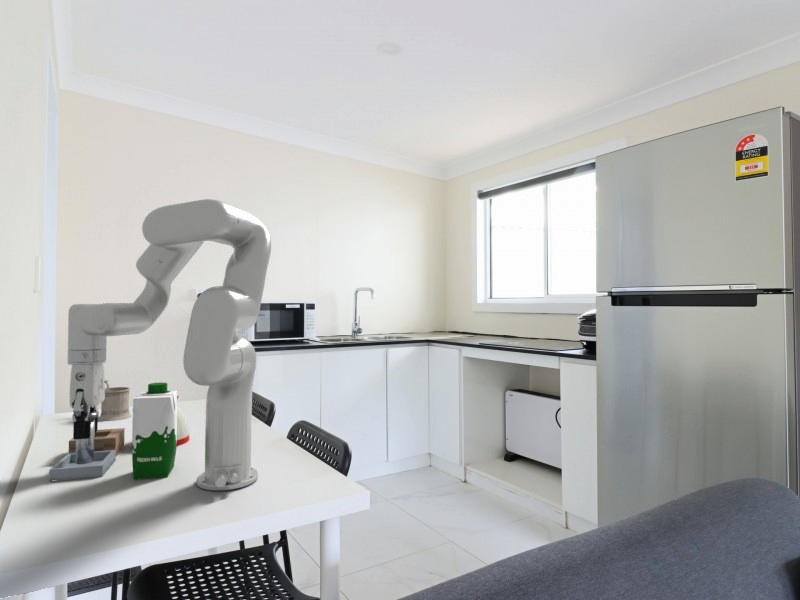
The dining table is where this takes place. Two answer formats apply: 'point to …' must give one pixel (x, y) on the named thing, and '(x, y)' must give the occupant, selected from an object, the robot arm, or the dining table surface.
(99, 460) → the tray
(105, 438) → the socket block
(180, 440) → the kitchen timer
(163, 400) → the milk carton
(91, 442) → the pin
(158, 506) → the dining table surface
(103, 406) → the mug
